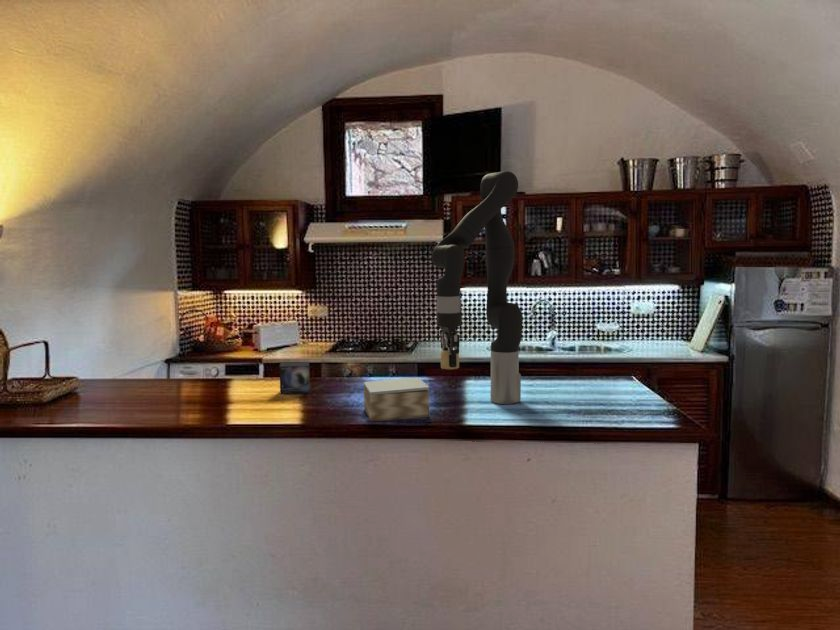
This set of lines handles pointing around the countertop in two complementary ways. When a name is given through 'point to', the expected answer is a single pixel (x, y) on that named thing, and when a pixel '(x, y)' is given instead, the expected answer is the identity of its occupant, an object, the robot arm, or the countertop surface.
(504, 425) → the countertop surface
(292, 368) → the small box
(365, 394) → the crate
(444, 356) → the tan rounded piece
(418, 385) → the lid
